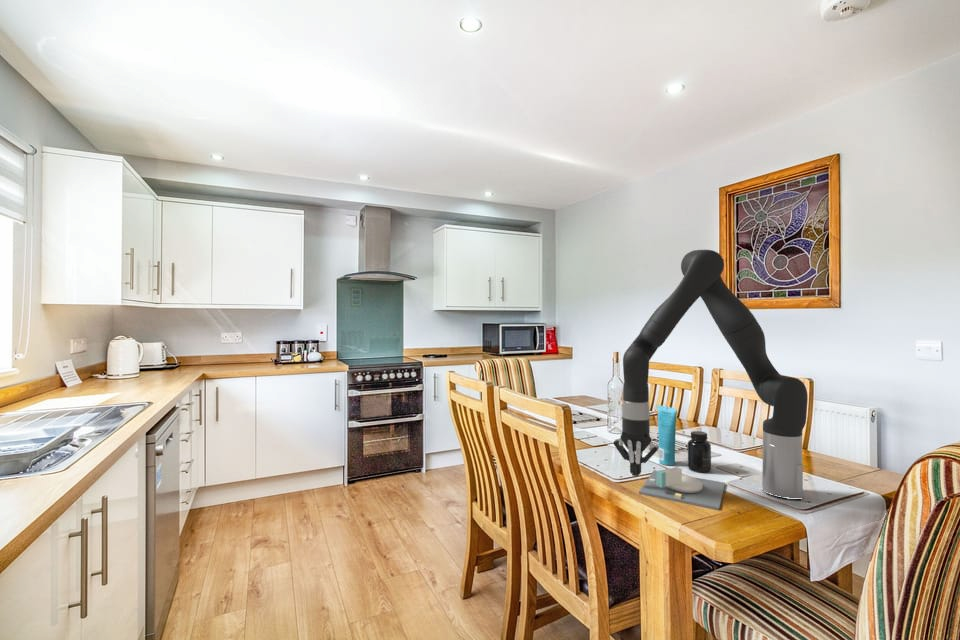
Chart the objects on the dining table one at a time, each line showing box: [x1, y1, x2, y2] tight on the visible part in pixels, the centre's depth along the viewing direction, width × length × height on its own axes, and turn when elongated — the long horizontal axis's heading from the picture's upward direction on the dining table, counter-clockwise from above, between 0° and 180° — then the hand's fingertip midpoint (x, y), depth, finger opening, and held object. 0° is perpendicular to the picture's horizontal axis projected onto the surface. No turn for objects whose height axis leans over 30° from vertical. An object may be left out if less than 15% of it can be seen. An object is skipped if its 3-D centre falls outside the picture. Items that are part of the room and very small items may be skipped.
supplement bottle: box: [687, 430, 712, 474], centre depth 146 cm, size 7×7×12 cm
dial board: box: [638, 469, 726, 511], centre depth 130 cm, size 20×20×1 cm
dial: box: [656, 466, 702, 493], centre depth 129 cm, size 14×10×6 cm
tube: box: [656, 404, 678, 466], centre depth 152 cm, size 7×5×19 cm, turn 39°
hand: (635, 475), depth 131 cm, fingers closed
